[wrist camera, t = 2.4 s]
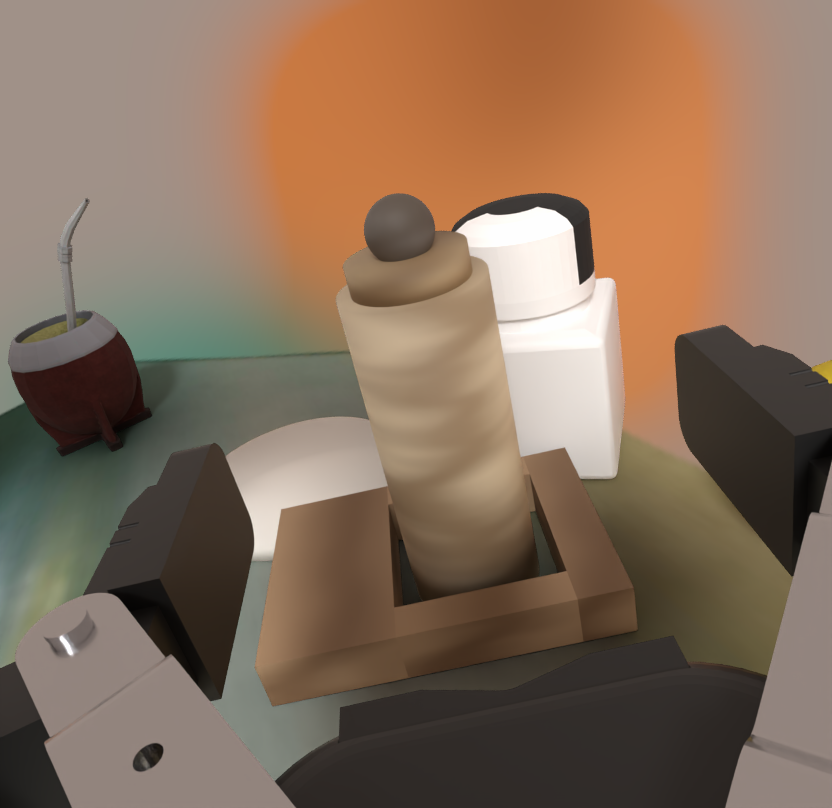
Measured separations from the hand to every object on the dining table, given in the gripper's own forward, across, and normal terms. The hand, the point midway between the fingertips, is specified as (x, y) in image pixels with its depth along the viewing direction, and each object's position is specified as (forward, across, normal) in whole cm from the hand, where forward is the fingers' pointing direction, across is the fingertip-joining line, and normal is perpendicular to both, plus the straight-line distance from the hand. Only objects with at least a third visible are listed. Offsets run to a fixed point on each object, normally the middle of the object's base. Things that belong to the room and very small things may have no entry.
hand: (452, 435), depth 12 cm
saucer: (+20, +8, +13) cm, 26 cm away
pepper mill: (+12, 0, +13) cm, 18 cm away
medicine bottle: (+20, -5, +13) cm, 24 cm away
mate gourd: (+32, +22, +13) cm, 41 cm away
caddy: (+11, +2, +13) cm, 18 cm away
